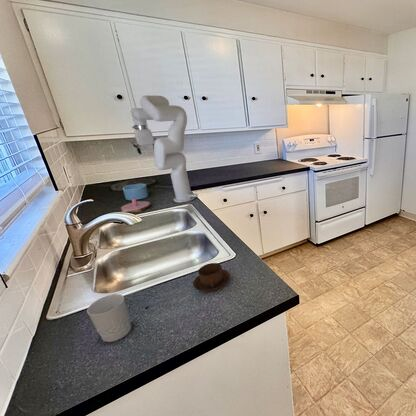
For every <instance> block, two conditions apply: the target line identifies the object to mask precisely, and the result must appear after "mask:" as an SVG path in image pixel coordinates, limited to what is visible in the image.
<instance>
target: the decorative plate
mask: <svg viewBox="0 0 416 416" xmlns="http://www.w3.org/2000/svg"><path fill="white" fill-rule="evenodd" d="M156 183H157V182H156V179H153V178H135V179H134V178H133V179H128V180H123V181H119V182H117V183H114V184H112V185H111V186H110V190H111V191H113V192H123V189H122V188H123V187H125V186H129V185H134V184H146V186H147V188H150V187H151V186H154V185H156Z"/></svg>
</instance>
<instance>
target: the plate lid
mask: <svg viewBox="0 0 416 416" xmlns="http://www.w3.org/2000/svg"><path fill="white" fill-rule="evenodd" d="M130 201H131V202H130V203H126V204H124V205H122V206H121V207H120V210H121V211H122V210H124V211H132V210H138V209H142V208H145V207H147V206H149V205H150V204H151V202H149V201H144V200H143V201H142V200H141V201H138V200H136V198H132V199H131V200H130ZM150 206H151V205H150ZM150 206H149V207H150ZM147 208H148V207H147Z"/></svg>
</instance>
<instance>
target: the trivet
mask: <svg viewBox="0 0 416 416" xmlns="http://www.w3.org/2000/svg"><path fill="white" fill-rule="evenodd" d="M150 206H151V203H150V205H149V206H147V207H145V208H142V209H138V210H132V211H124V210H121V213H139V212H143V211H144V210H146V209H147V208H149V207H150Z"/></svg>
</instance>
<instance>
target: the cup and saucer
mask: <svg viewBox="0 0 416 416" xmlns="http://www.w3.org/2000/svg"><path fill="white" fill-rule="evenodd" d="M230 278H231V274H230V272H229V271H228V270H226V269H223V268H222V265H221V264H220V263H218V262H210V263H206V264H204V265H202V266H201V267H200V268H199V269H198V276H196V278H194V280H193V283H192V284H193V287H194V289H195V290H197V291H199V292H213V291H216V290H218V289H220V288H222V287H224V286H225V285H226V284H228V282H229V281H230Z"/></svg>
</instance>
